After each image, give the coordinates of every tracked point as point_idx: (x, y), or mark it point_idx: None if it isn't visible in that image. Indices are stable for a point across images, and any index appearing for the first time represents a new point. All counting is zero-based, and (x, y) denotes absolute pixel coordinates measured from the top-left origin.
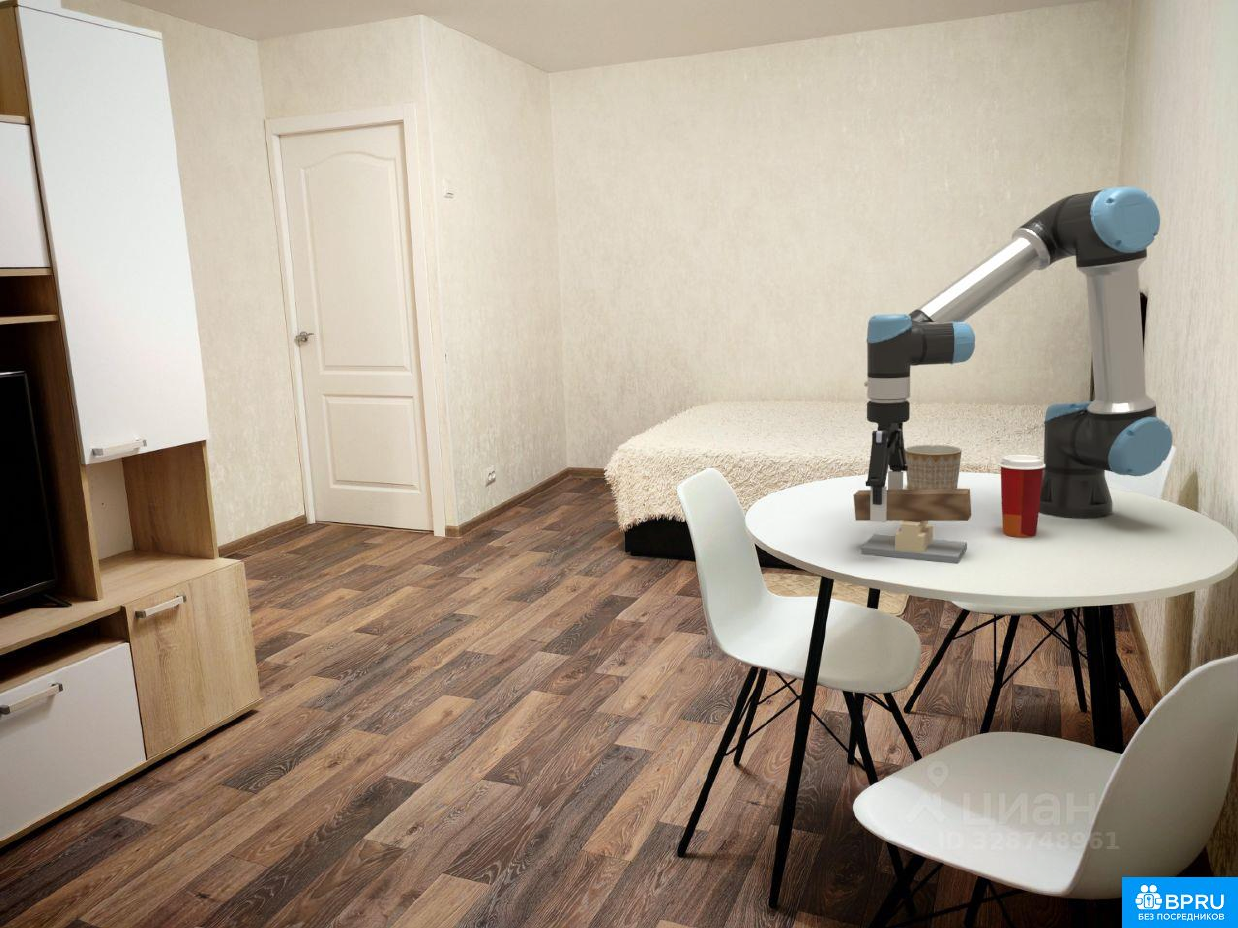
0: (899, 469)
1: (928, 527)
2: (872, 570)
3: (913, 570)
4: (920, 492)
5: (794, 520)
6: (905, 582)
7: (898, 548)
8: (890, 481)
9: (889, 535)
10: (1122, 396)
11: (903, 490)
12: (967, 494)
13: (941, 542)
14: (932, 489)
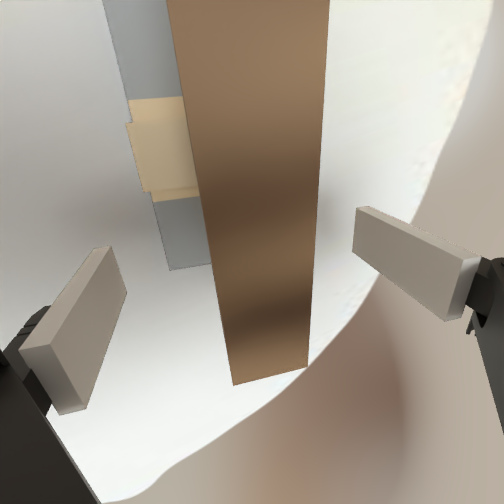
0: (24, 382)
1: (180, 105)
2: (392, 178)
3: (375, 91)
4: (285, 118)
5: (117, 439)
6: (458, 83)
7: None
8: (97, 352)
9: (161, 235)
10: None
11: (231, 233)
12: None
13: (152, 66)
14: (186, 54)
